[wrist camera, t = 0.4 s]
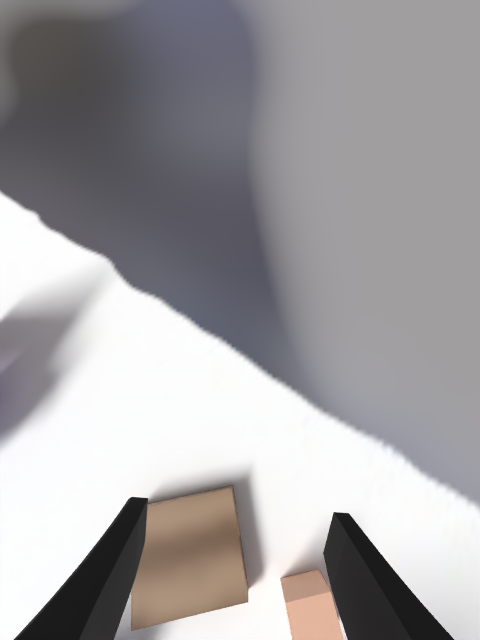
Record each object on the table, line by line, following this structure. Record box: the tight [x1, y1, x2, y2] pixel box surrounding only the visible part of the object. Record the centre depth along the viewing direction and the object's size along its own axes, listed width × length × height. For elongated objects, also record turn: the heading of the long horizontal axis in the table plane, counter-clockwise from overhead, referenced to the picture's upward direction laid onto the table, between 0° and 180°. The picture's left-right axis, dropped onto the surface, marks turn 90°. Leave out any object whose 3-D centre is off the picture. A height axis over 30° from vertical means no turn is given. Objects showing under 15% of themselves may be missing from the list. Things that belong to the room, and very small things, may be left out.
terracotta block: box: [280, 569, 343, 640], centre depth 25 cm, size 4×4×5 cm
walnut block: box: [131, 485, 248, 631], centre depth 29 cm, size 10×12×3 cm
